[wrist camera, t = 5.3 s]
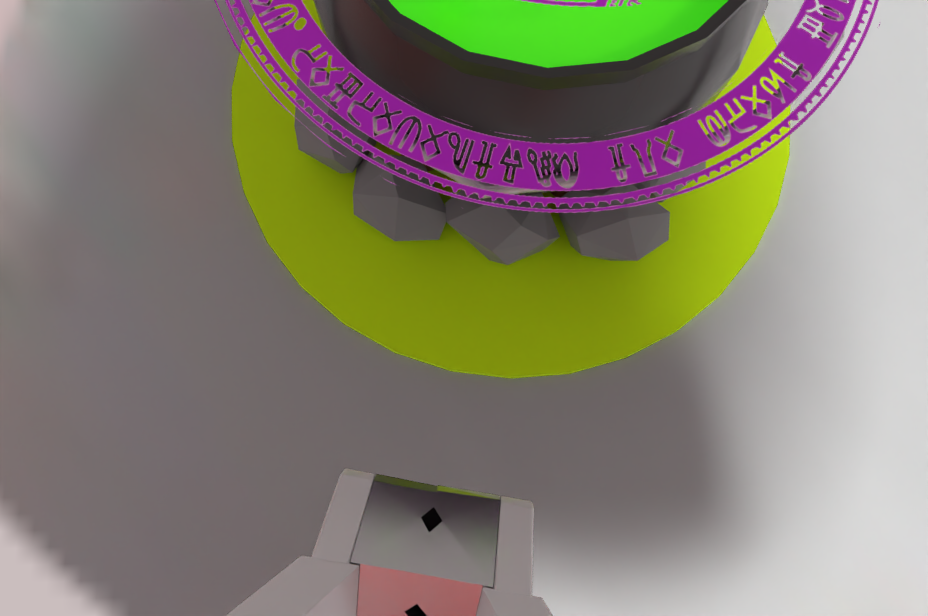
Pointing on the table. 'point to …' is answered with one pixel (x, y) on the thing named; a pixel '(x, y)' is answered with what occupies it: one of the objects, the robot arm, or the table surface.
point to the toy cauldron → (520, 164)
